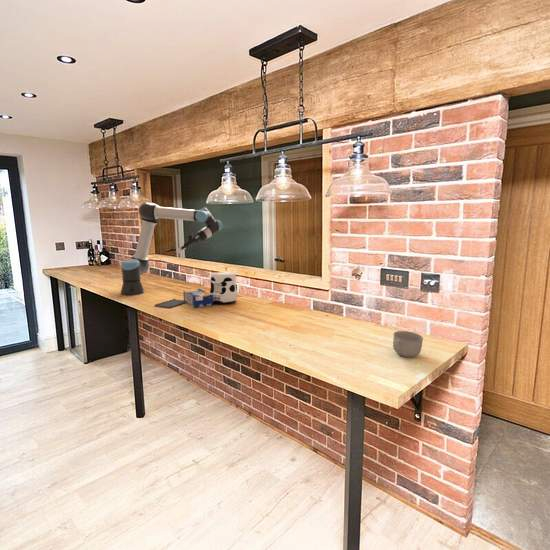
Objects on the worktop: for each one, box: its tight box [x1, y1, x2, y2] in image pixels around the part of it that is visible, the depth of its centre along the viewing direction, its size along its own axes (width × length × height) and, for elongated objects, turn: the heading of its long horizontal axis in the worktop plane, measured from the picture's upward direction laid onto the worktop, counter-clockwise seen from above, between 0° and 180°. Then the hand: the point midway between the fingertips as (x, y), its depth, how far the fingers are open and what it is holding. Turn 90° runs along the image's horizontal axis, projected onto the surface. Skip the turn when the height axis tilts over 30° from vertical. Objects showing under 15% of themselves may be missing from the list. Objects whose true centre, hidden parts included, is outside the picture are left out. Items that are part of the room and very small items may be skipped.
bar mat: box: [154, 298, 188, 309], centre depth 225 cm, size 12×18×1 cm, turn 154°
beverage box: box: [182, 288, 214, 309], centre depth 226 cm, size 7×11×22 cm
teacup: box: [392, 330, 424, 358], centre depth 140 cm, size 14×11×8 cm
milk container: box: [209, 271, 238, 305], centre depth 228 cm, size 17×17×18 cm
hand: (177, 251), depth 247 cm, fingers closed
